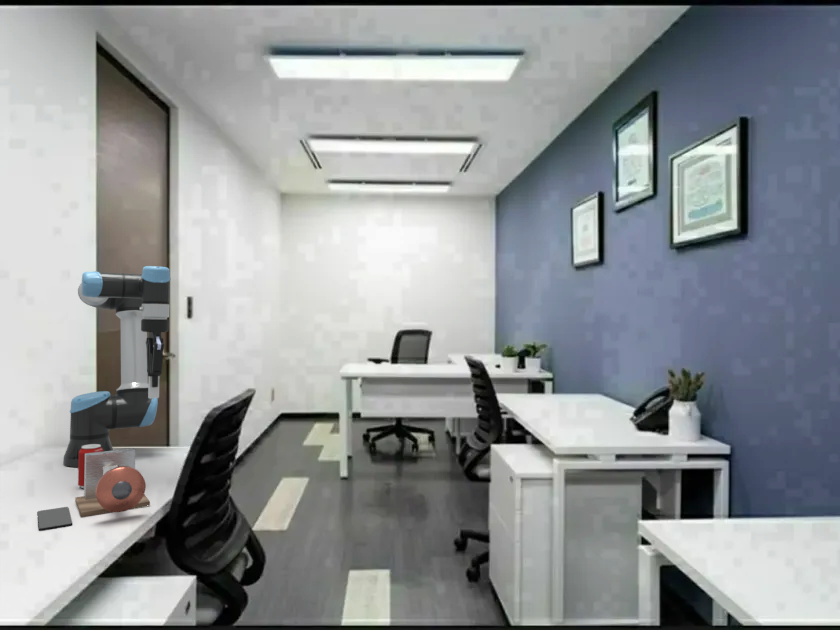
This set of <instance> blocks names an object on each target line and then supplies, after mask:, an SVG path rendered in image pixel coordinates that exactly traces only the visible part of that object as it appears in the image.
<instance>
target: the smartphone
mask: <svg viewBox="0 0 840 630" xmlns="http://www.w3.org/2000/svg"><path fill="white" fill-rule="evenodd" d="M36 513H37V514H36V515H37V516H38V517H37V516H36V517H37V527H38V531H39V532H43V531H50V530H55V529H56V530H57V529H60V528H61V529H62V528H67V527H72V526H73V521H72V517H71V513H70V508H69V507H68V506H63V507H56V508H49V509H44V510H42V509H41V510H38V511H37V512H36Z"/></svg>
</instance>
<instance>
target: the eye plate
mask: <svg viewBox="0 0 840 630" xmlns="http://www.w3.org/2000/svg"><path fill="white" fill-rule="evenodd" d="M111 466H112V467H113V466H116V467H119V466H129V467H132V468H135V469H136V450H135V448H134V447H133V448H125V449H124V448H123V449H113V451H103V452H94V453H85V474H84V489H83V490H84V491H83V496H84V498H85V500H87V499H93V498H96V486H97V483H98V481H99V480H100V478H101V477H102V476H103V475H104V467H111Z"/></svg>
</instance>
